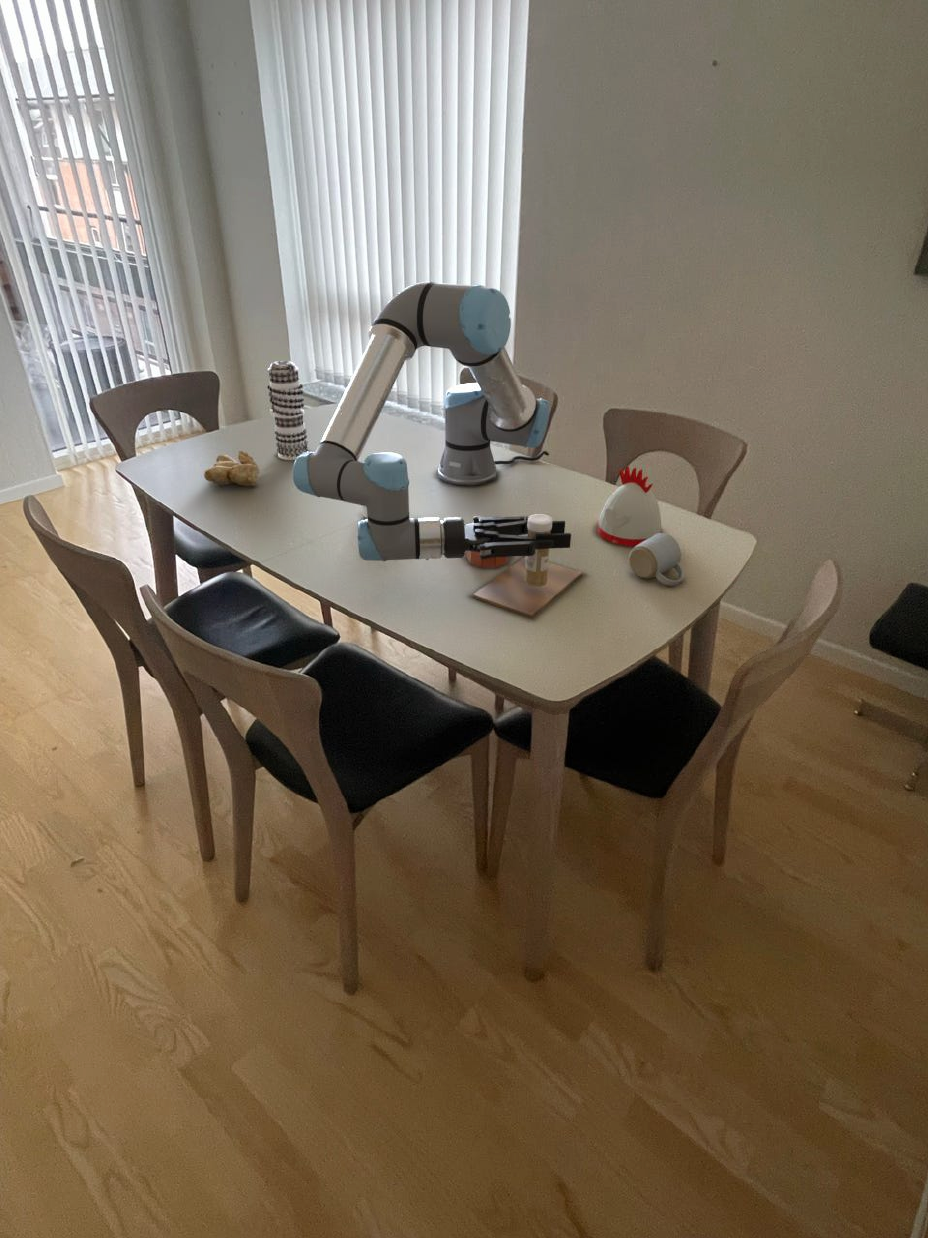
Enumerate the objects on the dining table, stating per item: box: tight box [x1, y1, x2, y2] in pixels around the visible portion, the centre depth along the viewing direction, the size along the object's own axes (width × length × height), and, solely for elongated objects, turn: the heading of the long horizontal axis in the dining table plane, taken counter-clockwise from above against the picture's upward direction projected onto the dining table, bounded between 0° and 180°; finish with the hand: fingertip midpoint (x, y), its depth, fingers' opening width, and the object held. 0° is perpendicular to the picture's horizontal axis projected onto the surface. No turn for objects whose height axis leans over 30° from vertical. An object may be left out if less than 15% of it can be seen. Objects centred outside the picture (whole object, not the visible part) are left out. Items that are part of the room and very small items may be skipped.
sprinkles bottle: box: [524, 513, 553, 587], centre depth 140 cm, size 5×5×14 cm
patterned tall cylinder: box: [266, 360, 309, 461], centre depth 200 cm, size 9×9×25 cm
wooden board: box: [472, 556, 583, 619], centre depth 146 cm, size 20×13×1 cm, turn 145°
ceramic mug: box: [628, 532, 685, 587], centre depth 148 cm, size 11×8×8 cm
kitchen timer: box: [597, 465, 662, 547], centre depth 163 cm, size 14×14×15 cm
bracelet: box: [466, 551, 510, 569], centre depth 155 cm, size 8×9×4 cm
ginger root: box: [203, 450, 260, 487], centre depth 188 cm, size 16×16×8 cm
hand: (566, 534), depth 138 cm, fingers closed on sprinkles bottle, 5 cm apart
